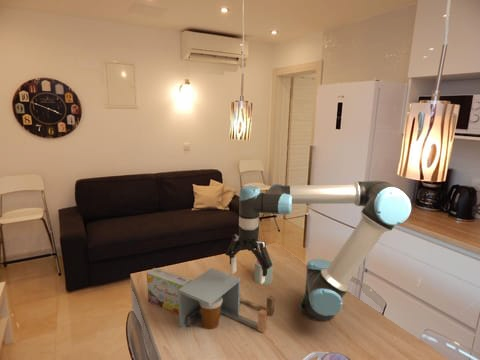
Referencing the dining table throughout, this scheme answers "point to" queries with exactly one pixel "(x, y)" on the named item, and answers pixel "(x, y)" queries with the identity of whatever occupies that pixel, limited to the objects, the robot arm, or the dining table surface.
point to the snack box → (165, 289)
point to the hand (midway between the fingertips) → (247, 277)
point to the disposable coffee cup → (211, 313)
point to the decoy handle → (255, 306)
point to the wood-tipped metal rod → (260, 325)
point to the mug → (267, 278)
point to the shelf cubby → (209, 293)
